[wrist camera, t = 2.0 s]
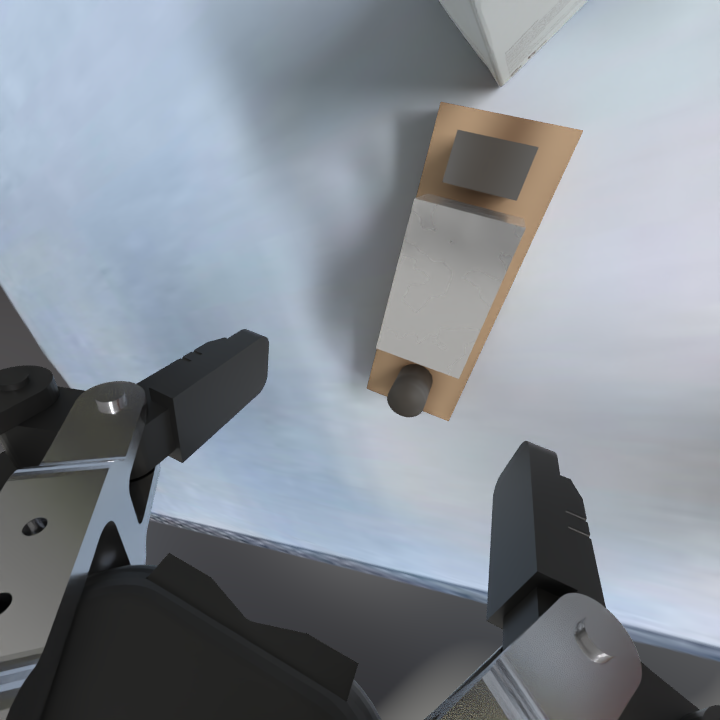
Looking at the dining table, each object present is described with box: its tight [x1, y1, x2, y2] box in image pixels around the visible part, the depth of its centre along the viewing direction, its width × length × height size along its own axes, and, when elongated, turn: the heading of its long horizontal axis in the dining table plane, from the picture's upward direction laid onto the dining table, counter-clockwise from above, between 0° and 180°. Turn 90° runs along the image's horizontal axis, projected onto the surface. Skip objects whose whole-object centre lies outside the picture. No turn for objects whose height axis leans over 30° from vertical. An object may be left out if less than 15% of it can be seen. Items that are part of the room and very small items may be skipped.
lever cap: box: [376, 194, 526, 379], centre depth 20 cm, size 6×9×4 cm, turn 168°
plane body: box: [367, 102, 583, 421], centre depth 25 cm, size 8×22×7 cm, turn 168°
